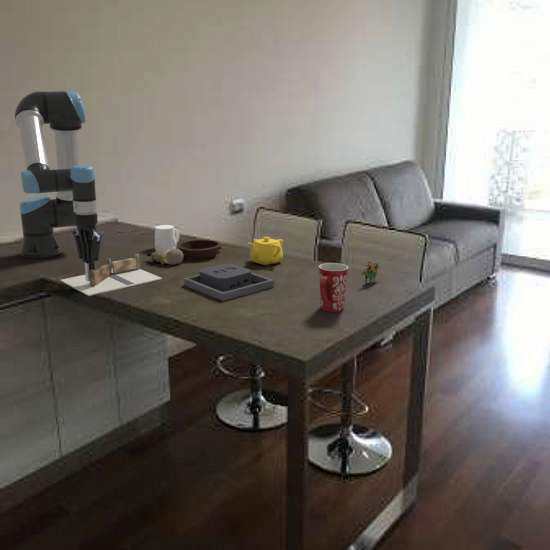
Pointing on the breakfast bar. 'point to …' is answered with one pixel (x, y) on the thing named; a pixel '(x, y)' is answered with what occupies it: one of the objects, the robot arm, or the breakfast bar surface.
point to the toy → (167, 256)
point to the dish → (199, 249)
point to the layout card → (111, 281)
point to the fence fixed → (124, 264)
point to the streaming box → (225, 277)
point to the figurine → (370, 272)
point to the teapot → (266, 250)
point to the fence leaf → (99, 274)
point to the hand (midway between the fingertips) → (90, 279)
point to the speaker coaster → (261, 285)
